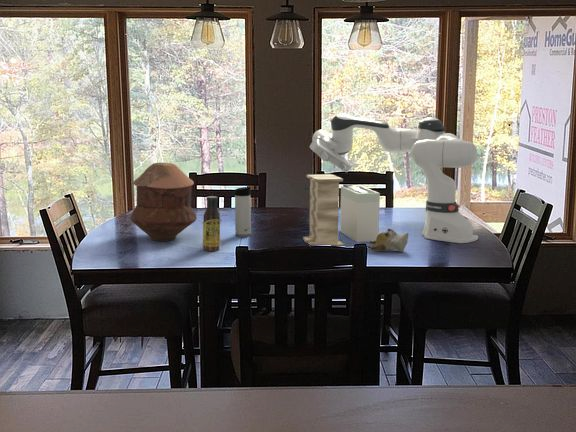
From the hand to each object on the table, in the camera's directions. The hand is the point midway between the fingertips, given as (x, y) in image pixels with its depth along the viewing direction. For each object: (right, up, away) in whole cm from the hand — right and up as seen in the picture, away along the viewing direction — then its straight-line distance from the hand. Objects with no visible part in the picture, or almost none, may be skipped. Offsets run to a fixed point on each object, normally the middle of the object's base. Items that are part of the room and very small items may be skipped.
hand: (336, 164), depth 277 cm
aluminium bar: (+7, -13, -13) cm, 19 cm away
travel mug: (-39, -30, -14) cm, 51 cm away
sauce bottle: (-49, -35, -37) cm, 71 cm away
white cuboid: (+8, -30, -14) cm, 34 cm away
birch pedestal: (-7, -33, -27) cm, 43 cm away
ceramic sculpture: (+16, -35, -38) cm, 54 cm away
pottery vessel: (-70, -31, -19) cm, 79 cm away
